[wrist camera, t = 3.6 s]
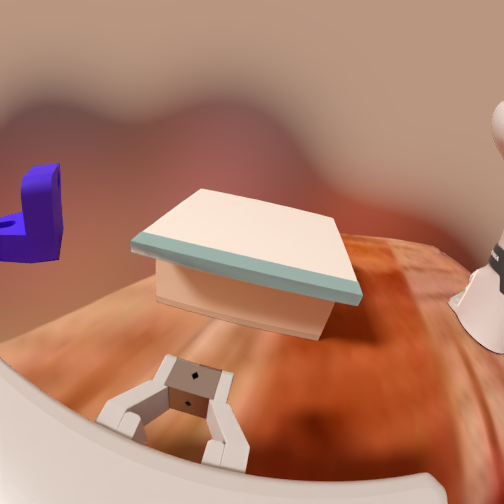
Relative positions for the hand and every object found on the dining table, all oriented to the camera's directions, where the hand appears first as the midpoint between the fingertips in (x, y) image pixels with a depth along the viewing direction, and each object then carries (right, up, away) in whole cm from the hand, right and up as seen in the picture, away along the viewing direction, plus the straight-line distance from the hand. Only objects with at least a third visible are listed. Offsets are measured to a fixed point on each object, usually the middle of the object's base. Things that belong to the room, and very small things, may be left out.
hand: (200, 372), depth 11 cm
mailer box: (+2, +1, +24) cm, 24 cm away
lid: (+3, +7, +19) cm, 20 cm away
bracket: (-35, +6, +19) cm, 40 cm away
